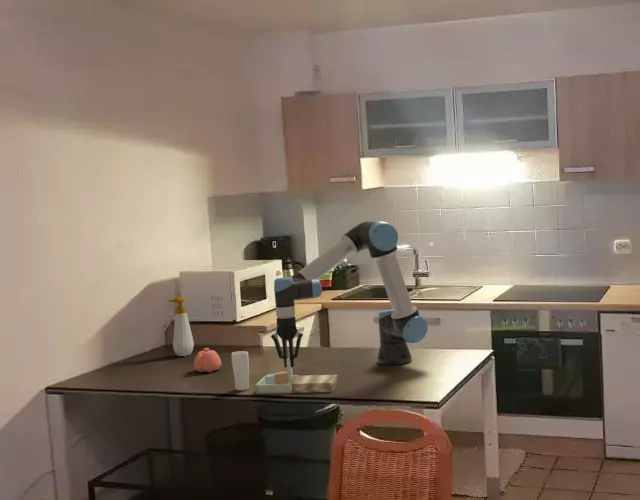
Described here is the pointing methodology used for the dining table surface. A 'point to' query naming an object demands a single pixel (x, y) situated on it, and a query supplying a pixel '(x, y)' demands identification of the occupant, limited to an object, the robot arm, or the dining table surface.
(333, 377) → the board
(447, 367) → the dining table surface
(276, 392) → the tray
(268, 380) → the tile grey
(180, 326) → the soap bottle
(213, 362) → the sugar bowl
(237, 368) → the drinking glass
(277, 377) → the salmon pink block
